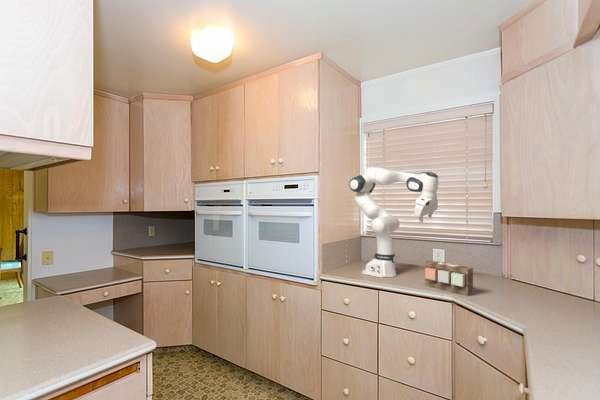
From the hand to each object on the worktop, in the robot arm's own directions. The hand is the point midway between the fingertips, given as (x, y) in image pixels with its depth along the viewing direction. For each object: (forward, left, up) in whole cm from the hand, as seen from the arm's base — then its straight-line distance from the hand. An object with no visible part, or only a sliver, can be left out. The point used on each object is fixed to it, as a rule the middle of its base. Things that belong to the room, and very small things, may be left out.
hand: (425, 220), depth 192 cm
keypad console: (+15, -12, -38) cm, 42 cm away
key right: (+21, -18, -33) cm, 42 cm away
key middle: (+13, -15, -33) cm, 38 cm away
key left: (+6, -13, -33) cm, 36 cm away
